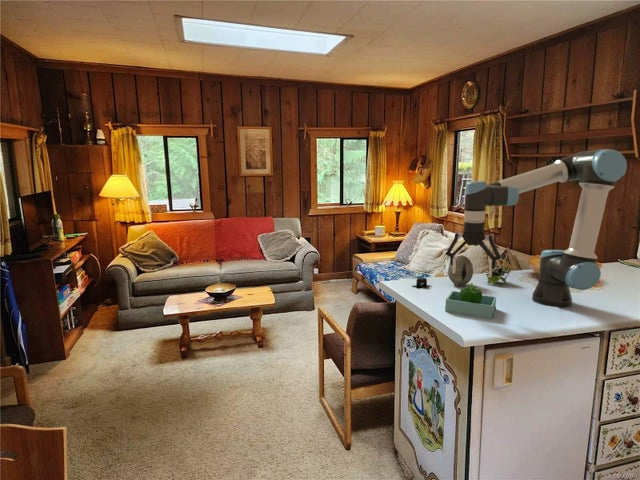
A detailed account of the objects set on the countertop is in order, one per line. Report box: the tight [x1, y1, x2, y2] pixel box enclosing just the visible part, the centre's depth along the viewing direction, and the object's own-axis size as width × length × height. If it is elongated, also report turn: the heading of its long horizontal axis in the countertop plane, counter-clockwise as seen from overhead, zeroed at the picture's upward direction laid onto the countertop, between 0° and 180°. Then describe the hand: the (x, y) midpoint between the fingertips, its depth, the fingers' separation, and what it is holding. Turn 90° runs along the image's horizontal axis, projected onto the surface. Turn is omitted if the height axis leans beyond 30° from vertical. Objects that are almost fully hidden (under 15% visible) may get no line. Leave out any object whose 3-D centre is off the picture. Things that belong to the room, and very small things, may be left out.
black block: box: [411, 277, 433, 290], centre depth 203 cm, size 12×7×5 cm, turn 120°
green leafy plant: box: [485, 264, 511, 285], centre depth 208 cm, size 11×11×12 cm
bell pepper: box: [459, 282, 483, 304], centre depth 164 cm, size 8×8×10 cm
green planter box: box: [444, 290, 497, 320], centre depth 165 cm, size 18×13×5 cm
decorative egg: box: [447, 254, 474, 286], centre depth 204 cm, size 12×12×15 cm
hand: (471, 274), depth 163 cm, fingers open, 13 cm apart
